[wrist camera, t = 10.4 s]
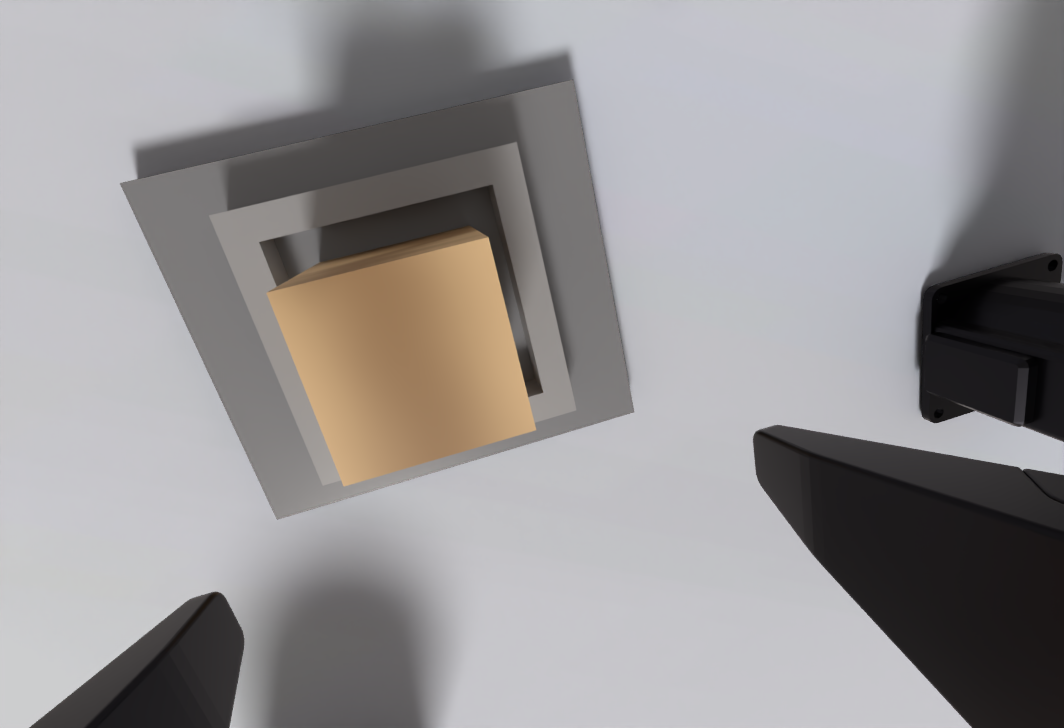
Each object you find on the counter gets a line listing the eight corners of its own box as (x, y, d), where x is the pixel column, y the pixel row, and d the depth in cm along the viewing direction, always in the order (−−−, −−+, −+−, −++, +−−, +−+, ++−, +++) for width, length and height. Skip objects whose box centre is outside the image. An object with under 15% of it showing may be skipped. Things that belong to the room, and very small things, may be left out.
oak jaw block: (469, 225, 18) (488, 237, 12) (504, 363, 19) (536, 429, 14) (319, 262, 17) (266, 292, 12) (369, 400, 19) (344, 486, 13)
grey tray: (565, 85, 18) (586, 68, 16) (625, 402, 22) (649, 427, 19) (137, 184, 16) (88, 181, 14) (284, 504, 20) (265, 544, 18)
